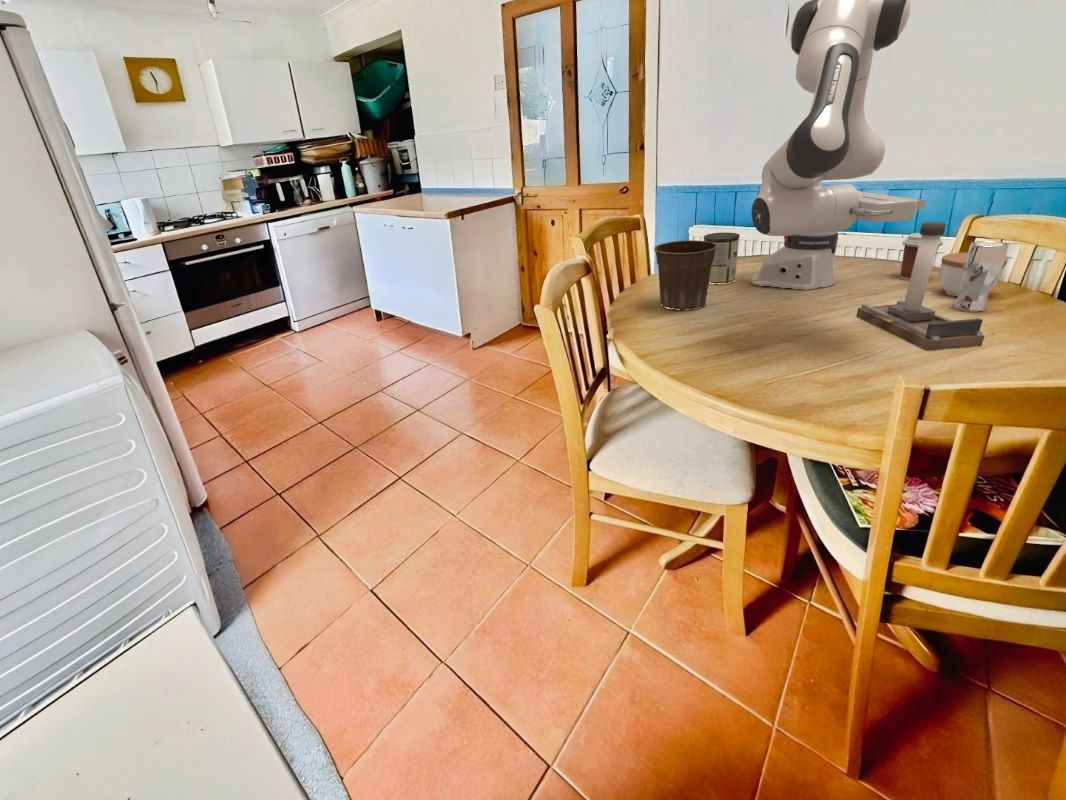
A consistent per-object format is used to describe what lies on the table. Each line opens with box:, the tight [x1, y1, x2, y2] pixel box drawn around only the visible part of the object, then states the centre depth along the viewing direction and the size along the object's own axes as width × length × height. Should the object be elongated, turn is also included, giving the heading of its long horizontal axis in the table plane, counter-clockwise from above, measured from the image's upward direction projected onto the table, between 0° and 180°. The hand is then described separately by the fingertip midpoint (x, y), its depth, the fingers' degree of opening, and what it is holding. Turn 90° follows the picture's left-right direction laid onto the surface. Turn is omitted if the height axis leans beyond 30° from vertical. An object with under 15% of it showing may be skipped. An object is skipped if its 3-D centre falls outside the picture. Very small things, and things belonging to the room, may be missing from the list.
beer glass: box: [952, 240, 1010, 313], centre depth 116 cm, size 7×7×15 cm
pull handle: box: [887, 221, 947, 322], centre depth 107 cm, size 6×6×20 cm
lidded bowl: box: [938, 252, 1008, 298], centre depth 126 cm, size 13×13×11 cm
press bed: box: [856, 300, 986, 351], centre depth 110 cm, size 23×11×5 cm, turn 2°
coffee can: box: [703, 232, 740, 283], centre depth 156 cm, size 10×10×14 cm
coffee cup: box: [899, 232, 944, 281], centre depth 142 cm, size 9×9×12 cm
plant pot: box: [653, 239, 718, 310], centre depth 137 cm, size 16×16×16 cm
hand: (905, 201), depth 101 cm, fingers open, 8 cm apart
